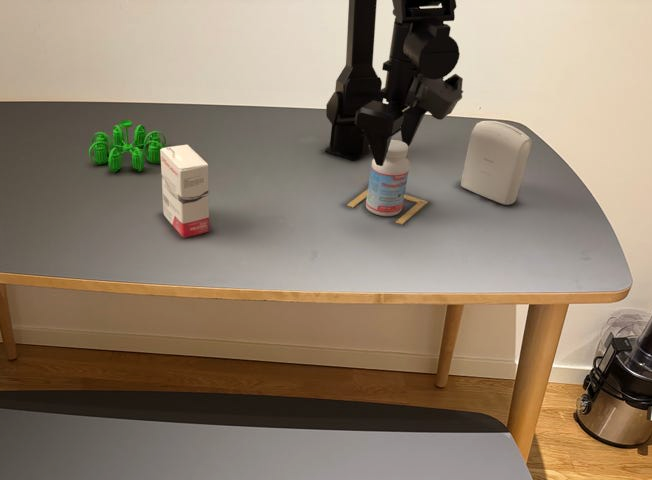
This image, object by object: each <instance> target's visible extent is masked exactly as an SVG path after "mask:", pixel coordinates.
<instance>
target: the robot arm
mask: <svg viewBox="0 0 652 480" xmlns="http://www.w3.org/2000/svg"><path fill="white" fill-rule="evenodd" d="M391 1H392V2H391V3H392V6H393V9H392V15H393V16H394V21H393V26H392V27H393V29H392V34H391V42H390V48H389V56H388V60H386V61H384V62H383V63H382V67H381V68H382V69H381V70H382V71H385V72H386V77H385V83H384V87H383V88H382V86H383V81H382V79H381V77H380V76H378V74H377V72H376V70H375V68H374V49H375V36H376V35H375V33H376V19H377V5H378V4H377V2H378V0H348V12H347V34H346V51H345V52H346V55H345V65H344V67H343V69H342V71H341V72H340V74H339V75H338V77H337V78H336V80H335V88H334V92H333V93H332V95H331V97H330V98H329V100H328V101H327V103H326V105H325V106H326V107H325V109H326V111H325V113H326V114H325V116H326V118H327V119H328V121H329V122H330V124H331V129H330V130H331V131H330V139H329V146H328V147H326V148H324V149H325V150H324V152H325V153H327V154H331V155H334V156H336V157H340V158H343V159H346V160H349V161H356V160H357V159H359V158H360V157H362V156H363V155H365V154H366V153H367V152H369V151H371V154H372V157H373V159H374V160H375V163H376V165H379V166H383V164H384V161H385V159H386V155H387V152H388V149H389V145H390V142H391V140H392V139H393V136H395V135H396V134H398V133H399V132H400V134H401V135H400V136H401V141H402V142H404V143H406V144H407V145H408V147H410V146H411V144H412V142H413V140H414V138H415V135H416V134H417V131H418V129H419V127H420V125H421V123H422V121H423V119H424V117H425V115H426V114H427V113H428V114H430V115H431V116H432V117H433V118H434V119H436V120H440V121H441V120H444V119H445V118H446V117H447V116H448V115H450V114H452V112H453V111H454V109H455V107H456V105H457V104H458V102H459V101H461V100H462V99H463V93H464V90H463V82H464V79H463V77H461V76H460V75H458V74H457V73H454V74H452V75H451V76H449V77H447V76H448V75H449V74H451V72H453V71H454V70H455V68H456V66H457V65H458V63H459V59H460V47H459V45H458V42H457V41H456V40H455V39H454V38H453V37H452V36H451V26H450V25H449V24H447V23H444V22H454V21H455V18H456V16H455V10H456V9H457V7H458V6H457V0H391ZM440 5H441V7H439V6H440ZM445 77H447V78H446V79H444V78H445ZM384 100H385V102H386V103H384Z"/></svg>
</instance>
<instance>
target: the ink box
mask: <svg viewBox="0 0 652 480" xmlns="http://www.w3.org/2000/svg"><path fill="white" fill-rule="evenodd" d="M160 161H161V162H160V168H161V169H160V171H161V188H162V190H161V191H162V208H163V209H162V210H163V216H164V217H165V219H167V221H168V222H169V223H170V224H171V225H172V226H173V228H174V229H175V230H176V231H177V232H178V234H179V235H180V236H181V237H182V238H184V239H185V238H189V237H192V236H193V237H194V236H197V235H201V234H206V233H209V232H210V197H209V191H210V190H209V164H208V163H207V162H206V161H205V160H204V159H203V158H202V157H201V156H200V155H199V154H198V153H197V152H196V151H195V150H194V149H193V148H192V147H191V146H190V145H189V144H188V143H187V144H180V145H174V146H173V145H172V146H167V147H166V146H165V147H164V148H162V149H160Z"/></svg>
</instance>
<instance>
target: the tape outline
mask: <svg viewBox="0 0 652 480" xmlns="http://www.w3.org/2000/svg"><path fill="white" fill-rule="evenodd" d="M367 192H368V188H367V189H366V190H365V191H363V192H362V193H360V194H359V195H357V196H356V197H355V198H354V199H352V200H351V201H349V202H348V204H346V206H347V207H349V208H352V209H354V208H355V207H356V206H357V205H359V204H360V203H361V202H363V201H365V200H366V198H367ZM404 200H405V201H406V200H407V201H410V202H412V203H415V205H414V206H412V207H411V208H410V209H409V210H407V211H406V212H405V213H404V214H403V215H402V216H401V217H399V218H398V219H397V220H396V221H395V223H396V224H399V225H401V226H402V225H404V224H405V223H407V221H408V220H410V219H411V218H412V217H413V216H414V215H415V214H416V213H418V212H419V211H420V210H421V209H422V208H423V207H425V206H426V205H427V204H428V203H429V201H427V200H424V199H421V198H418V197H415V196H411V195H408V194H405V195H404Z"/></svg>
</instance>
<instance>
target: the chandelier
mask: <svg viewBox="0 0 652 480" xmlns="http://www.w3.org/2000/svg"><path fill="white" fill-rule="evenodd" d="M132 126H133V121H131V120H130V119H129V120H128V119H125V120H121V121H119V125H118V124H116V125H114V126H113V130H112V138H111V137H110V135H108V134H106V133H105V132H103V131H97V132H95V133H94V134H93V135H92V137H91V139H90V140H91V146H90V147H89V149H88V157H89V159H90V161H91V162H92V163H94V164H96V165H104V164H106V163H108V168H109V170H110V171H111V172H114V173H117V172H118V171H119V170H120V169H121V168H122V167H123V165H122V159H123V158H122V155H123V154H124V153H131V165H132V168H133V169H135V170H137V171H138V172H142V171H143V170H144V167H145V159H146V160H147V161H149V162H150V163H151V164H161V154H160V149H162V148H166V144H167V139H166V137H165V135H164V134H163V133H162V132H160V131H159V130H158V131H157V130H154V131H151V132H149V133H148V134H147V130H146V127H145V125H143V124H138V125H137V126H136V127H135V130H134V134H133V141H132V142H131V143H129V131H128V128H131V127H132ZM122 128H124V130H125V133H124V130H123V129H122ZM96 135H98V136H96ZM160 135H161V137H162V138H163V145H162V141H161V140H162V139H161V138H160ZM95 136H96V140H95V142H94V138H95ZM148 138H149V139H148ZM147 140H148V141H147ZM109 143H110V145H109ZM148 144H149V145H148ZM147 145H148V148H147ZM92 149H94V150H93V153H94V160H95V161H94V160H93V158H92V157H91V155H92V154H91V153H92ZM147 153H148V154H147ZM107 155H108V156H107Z"/></svg>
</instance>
